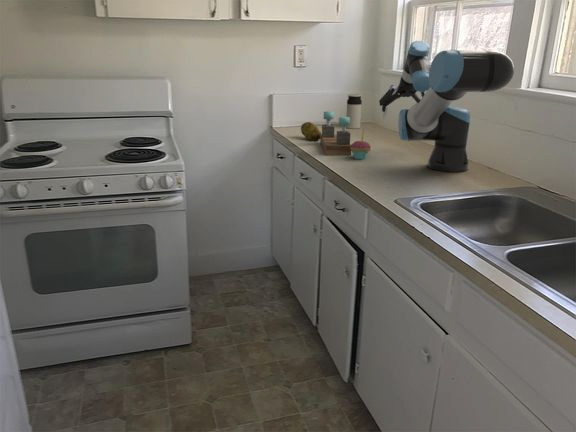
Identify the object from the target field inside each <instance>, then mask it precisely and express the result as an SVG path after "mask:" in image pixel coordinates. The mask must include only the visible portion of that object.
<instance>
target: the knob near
mask: <svg viewBox="0 0 576 432" xmlns="http://www.w3.org/2000/svg"><path fill="white" fill-rule="evenodd" d="M349 122H350V118H349V117H346V116H340V117H338V126H341V131H342V133H346V131H347V128H346V126H348V125H349Z"/></svg>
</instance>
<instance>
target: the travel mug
mask: <svg viewBox="0 0 576 432" xmlns="http://www.w3.org/2000/svg"><path fill="white" fill-rule="evenodd" d="M362 95H363V94H357V93H349V94H348V95H347V97H348V98H347V100H346V116H345V117H349V118H350V122H349V125H348V126H346V129H350V130H351V129H352V130H357V129H360V128H361V119H362V116H361V115H362V102H363V101H362Z"/></svg>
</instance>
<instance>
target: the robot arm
mask: <svg viewBox="0 0 576 432" xmlns="http://www.w3.org/2000/svg"><path fill="white" fill-rule="evenodd" d="M430 49H431V48H430V45H429V44H428V43H427V42H425V41H424V40H414V41H413V42H411V43H410V45H409V48H408V50H407V54H406V59H405V62H404V66H403V69H402V73H401V77H400V79H399V84H398V86H394V85H393V84H391V85H390V87H389V88H388V90H387V91H386V92H385V94H383V96H382V97H381V98H380V99H379V101H378V102H379V106H381V112H382V117H383V119H386V117H387V112H388V109H389V105H391V104H392V103H393V102H395V101H396V100H397V99H400V98H410V97H412V99H413V100H414V101H415V102H416V103H415V104H413V105H411V107H409V109H408V108H404V109H400V111H399V114H398V136H399V138H400V140H401V141H407V142H411V141H412V142H413V141H417V142H418V141H419V142H420V141H422V142H423V141H424V142H425V141H427V142H428V141H434V147H433V148H432V151H431V153H430V155H429V158H428V159H427V167H429V168H430V169H433V170H436V171H441V172H450V173H451V172H453V173H454V172H455V173H459V172H465V171H467V170H469V158H468V154H467V144H468V136H469V131H470V130H469V129H470V124H471V112H470V110H469V109H465V108H462V107H456V106H453V105H451V104H452V102H453V101H457V100H460V99H462V98H463V97H464V96H465V95H466V94H467V93H479V92H480V93H488V92H495V91H498V90H501V89H502V88H503V89H504V88H505V87H506V86H507V85H508V84H509V83H510V82H511V81H512V79H513V76H514V73H515V66H514V63H513V60H512V59H511V58H510V57H509V56H508V55H507V54H506V53H503V52H501V51H497V50H470V49H469V50H467V49H465V50H464V49H463V50H458V49H449V50H441V51H439V52H438V53H437V54H436V55H435V56H434V57H433V59H432V61H431V64H430V61H429V58H428V57H429V55H430ZM417 92H418V93H420V95H421V97H422V98H420V97H419V95H418V94H417Z"/></svg>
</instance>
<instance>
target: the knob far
mask: <svg viewBox="0 0 576 432" xmlns="http://www.w3.org/2000/svg"><path fill="white" fill-rule="evenodd" d="M334 115H335V112H334V111H328V110H327V111H323V120H326V121H325V123H326V124H325V125H326V126H330V125H331V120H334Z"/></svg>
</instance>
